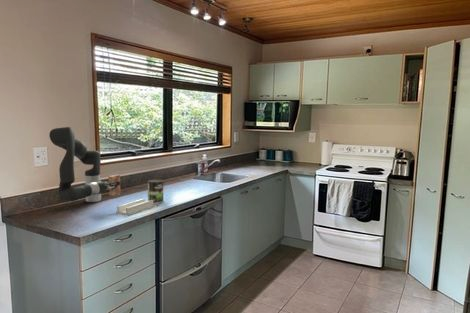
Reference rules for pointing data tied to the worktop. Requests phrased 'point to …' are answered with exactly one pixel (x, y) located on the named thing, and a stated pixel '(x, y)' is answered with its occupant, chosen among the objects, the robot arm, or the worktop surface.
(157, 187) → the coffee can
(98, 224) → the worktop surface
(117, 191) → the wooden card
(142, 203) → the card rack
